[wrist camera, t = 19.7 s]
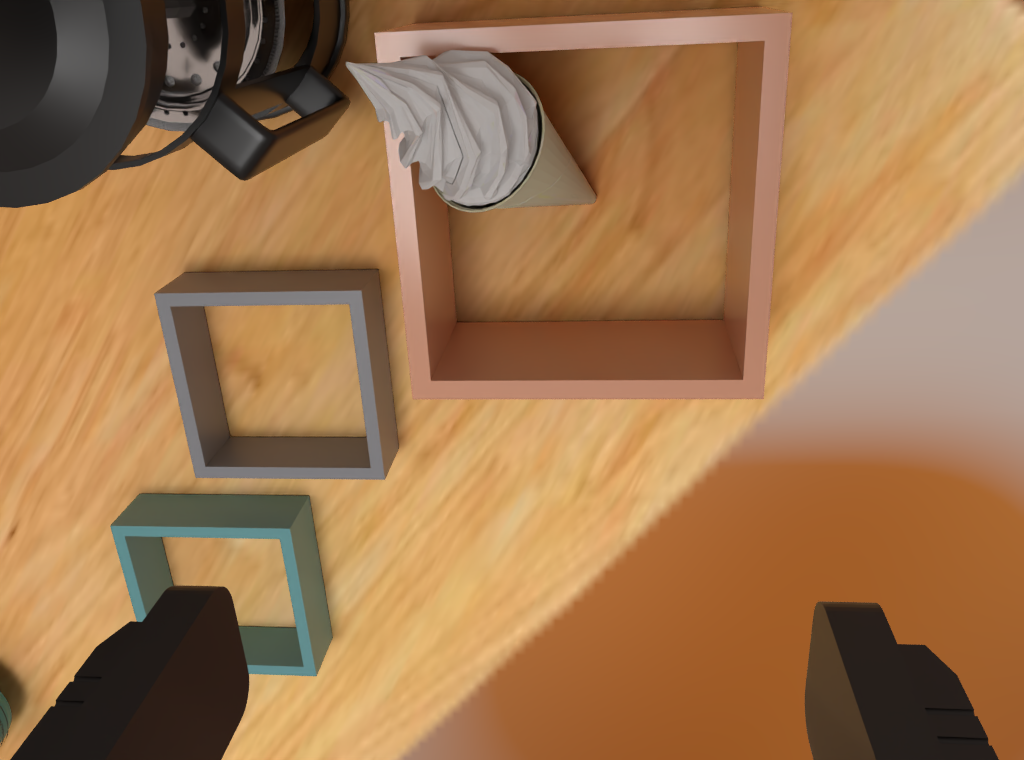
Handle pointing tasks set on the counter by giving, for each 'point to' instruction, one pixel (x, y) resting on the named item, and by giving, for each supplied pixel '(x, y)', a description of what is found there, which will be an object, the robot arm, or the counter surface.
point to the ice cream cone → (474, 131)
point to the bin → (602, 344)
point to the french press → (155, 86)
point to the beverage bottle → (4, 717)
